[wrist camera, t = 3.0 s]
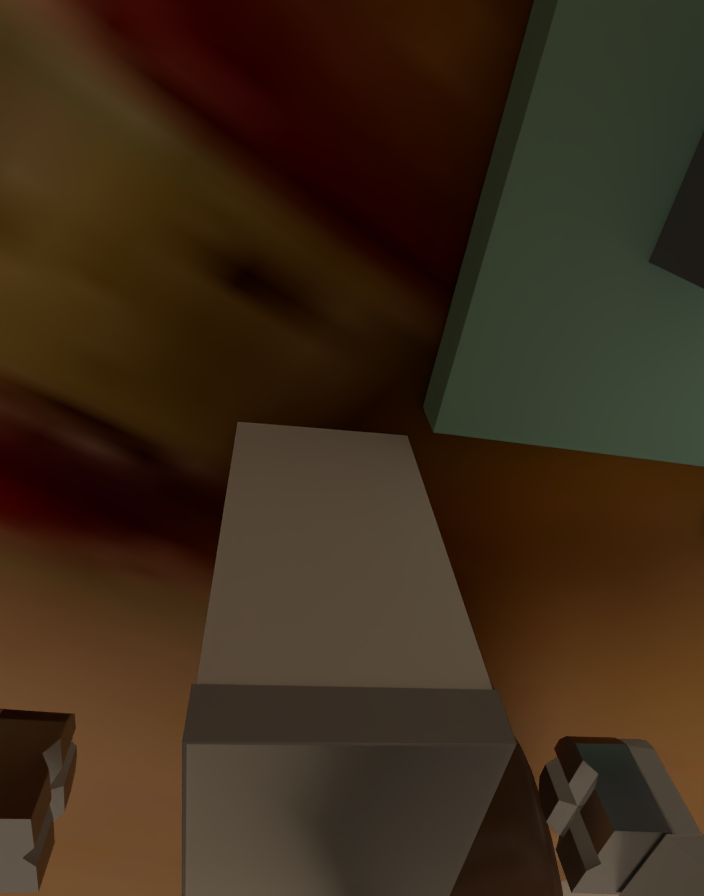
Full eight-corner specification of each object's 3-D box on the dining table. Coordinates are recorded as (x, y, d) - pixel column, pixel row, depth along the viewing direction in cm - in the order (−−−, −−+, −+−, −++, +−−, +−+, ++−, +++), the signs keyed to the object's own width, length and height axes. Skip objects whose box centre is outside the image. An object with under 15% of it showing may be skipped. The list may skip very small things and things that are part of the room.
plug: (235, 419, 14) (182, 740, 7) (409, 433, 15) (517, 743, 8) (228, 557, 16) (182, 910, 9) (381, 564, 17) (446, 903, 10)
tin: (357, 564, 17) (408, 933, 9) (471, 549, 17) (610, 903, 9) (389, 848, 24) (431, 1170, 17) (467, 837, 24) (542, 1153, 17)
